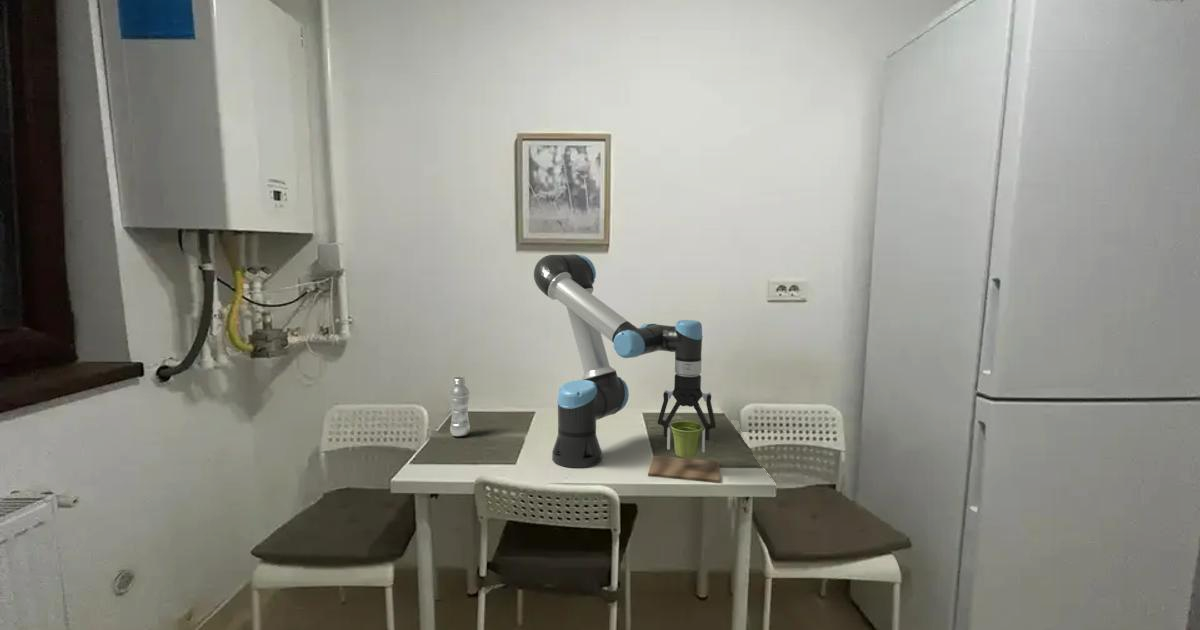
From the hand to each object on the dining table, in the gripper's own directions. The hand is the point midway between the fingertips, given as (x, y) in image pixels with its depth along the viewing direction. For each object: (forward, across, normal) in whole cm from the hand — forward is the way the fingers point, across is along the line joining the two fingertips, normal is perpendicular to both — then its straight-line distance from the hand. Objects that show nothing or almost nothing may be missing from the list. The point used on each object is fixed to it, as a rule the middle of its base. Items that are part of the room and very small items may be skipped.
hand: (685, 449), depth 166 cm
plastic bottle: (+6, -77, +12) cm, 78 cm away
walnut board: (+6, 0, 0) cm, 6 cm away
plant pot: (+2, 0, 0) cm, 2 cm away
